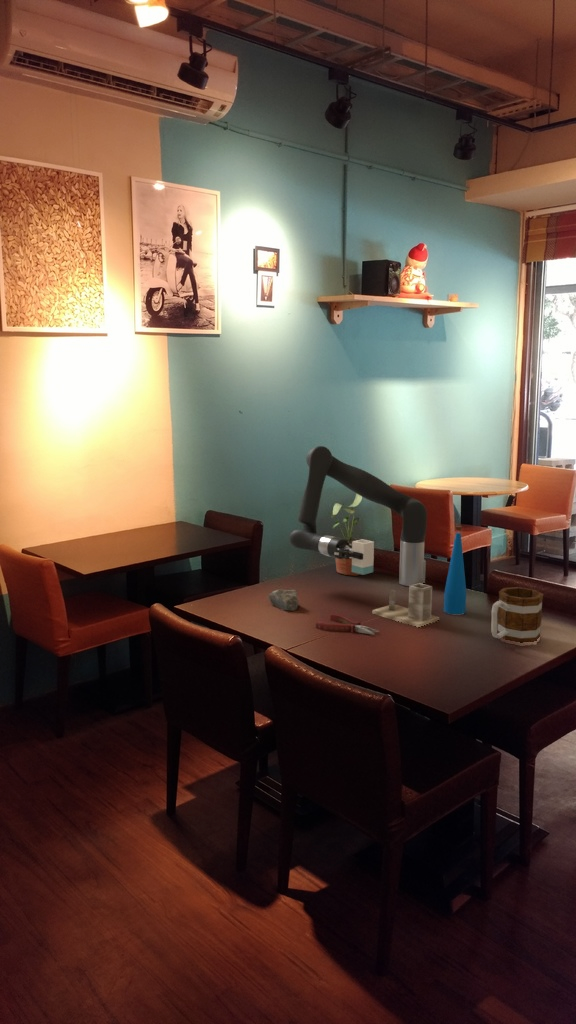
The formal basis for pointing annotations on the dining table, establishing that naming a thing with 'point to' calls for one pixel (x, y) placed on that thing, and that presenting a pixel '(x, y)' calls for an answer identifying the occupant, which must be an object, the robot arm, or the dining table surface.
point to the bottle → (456, 580)
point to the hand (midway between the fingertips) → (368, 555)
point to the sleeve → (368, 556)
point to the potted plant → (345, 564)
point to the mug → (517, 614)
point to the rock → (284, 599)
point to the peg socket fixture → (411, 607)
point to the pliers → (345, 625)
